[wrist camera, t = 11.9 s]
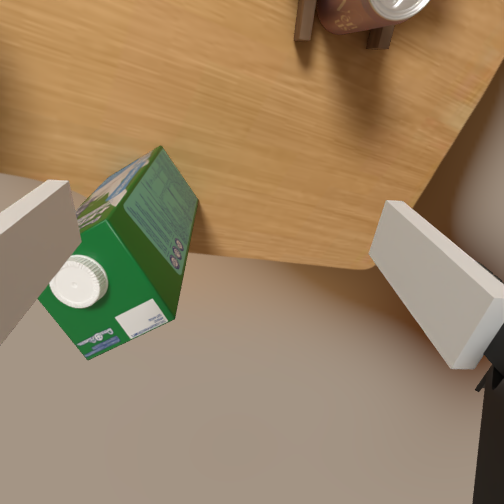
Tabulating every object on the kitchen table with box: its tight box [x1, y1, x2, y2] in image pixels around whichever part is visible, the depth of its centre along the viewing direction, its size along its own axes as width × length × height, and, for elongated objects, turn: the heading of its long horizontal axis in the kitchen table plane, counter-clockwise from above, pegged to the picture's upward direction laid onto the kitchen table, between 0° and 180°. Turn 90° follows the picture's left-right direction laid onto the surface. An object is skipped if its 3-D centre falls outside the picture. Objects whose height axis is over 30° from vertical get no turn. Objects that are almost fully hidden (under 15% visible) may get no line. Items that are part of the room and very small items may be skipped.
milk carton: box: [37, 146, 198, 360], centre depth 35 cm, size 9×9×25 cm
